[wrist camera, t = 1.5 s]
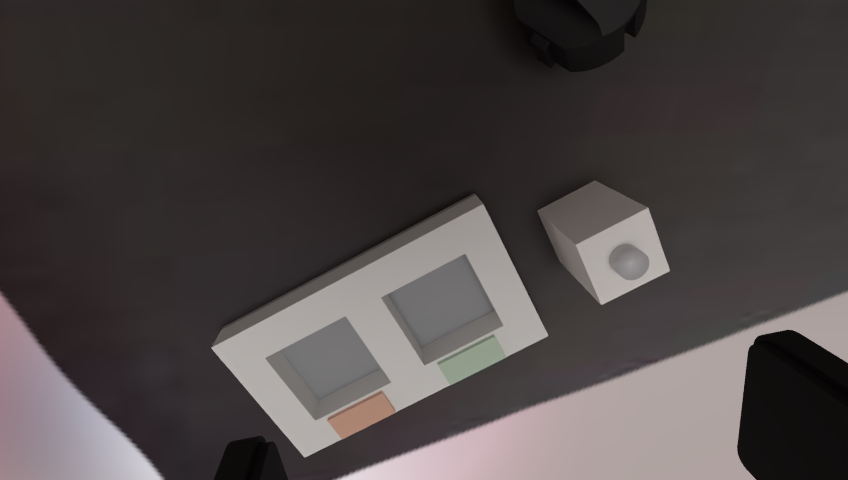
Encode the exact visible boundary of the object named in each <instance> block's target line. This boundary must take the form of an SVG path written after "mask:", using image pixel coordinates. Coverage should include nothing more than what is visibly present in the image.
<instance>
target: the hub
mask: <svg viewBox="0 0 848 480" xmlns="http://www.w3.org/2000/svg"><path fill="white" fill-rule="evenodd" d="M547 336H548V334H547V332H546V330H545V328H544V326H543V324H542V322H541V320H540V318H539V316H538V314H537V312H536V310H535V308H534V306H533V304H532V302H531V300H530V298H529V296H528V294H527V292H526V290H525V288H524V285H523V283H522V281H521V279H520V277H519V275H518V273H517V271H516V269H515V267H514V265H513V263H512V261H511V259H510V257H509V255H508V253H507V251H506V249H505V247H504V245H503V243H502V241H501V239H500V237H499V235H498V233H497V231H496V229H495V227H494V225H493V223H492V221H491V219H490V217H489V215H488V213H487V211H486V208H485V206H484V204H483V203H482V202H481V201H480V199H479V198H478V197H477V196H476V194H475V193H474V194H472V195H470V196H468V197H466V198H464V199H462V200H460V201H458V202H457V203H455V204H453V205H451V206H449V207H447V208H445V209H443V210H442V211H440V212H438V213H436V214H434V215H432V216H430V217H428V218H427V219H425V220H423V221H421V222H419V223H417V224H415V225H413V226H412V227H410V228H408V229H406V230H404V231H402V232H400V233H398V234H396V235H395V236H393V237H391V238H389V239H387V240H385V241H383V242H381V243H380V244H378V245H376V246H374V247H372V248H370V249H368V250H366V251H365V252H363V253H361V254H359V255H357V256H355V257H353V258H351V259H350V260H348V261H346V262H344V263H342V264H340V265H338V266H336V267H334V268H333V269H331V270H329V271H327V272H325V273H323V274H321V275H319V276H318V277H316V278H314V279H312V280H310V281H308V282H306V283H304V284H303V285H301V286H299V287H297V288H295V289H293V290H291V291H289V292H288V293H286V294H284V295H282V296H280V297H278V298H276V299H274V300H272V301H271V302H269V303H267V304H265V305H263V306H261V307H259V308H257V309H256V310H254V311H252V312H250V313H248V314H246V315H244V316H242V317H241V318H239V319H237V320H235V321H233V322H231V323H229V324H227V325H225V326H224V327H223V328H222V330H221V332H220V333H219V335H218V337H217V339H216V340H215V342H214V344H213V346H212V347H211V348H212V349H213V351H214V352H215V353H216V354H217V355H218V357H219V358H220V359H221V360H222V361H223V362H224V364H225V365H226V366H227V367H228V368H229V369H230V371H231V372H232V373H233V374H234V375H235V376H236V378H237V379H238V380H239V381H240V382H241V383H242V385H243V386H244V387H245V388H246V389H247V390H248V392H249V393H250V394H251V395H252V396H253V398H254V399H255V400H256V401H257V402H258V403H259V405H260V406H261V407H262V408H263V409H264V410H265V412H266V413H267V414H268V415H269V416H270V417H271V419H272V420H273V421H274V422H275V423H276V424H277V426H278V427H279V428H280V429H281V430H282V432H283V433H284V434H285V435H286V436H287V437H288V439H289V440H290V441H291V442H292V443H293V444H294V446H295V447H296V448H297V449H298V450H299V451H300V453H301V454H302V455H303V456H304V457H307V456H309V455H311V454H313V453H315V452H317V451H319V450H321V449H323V448H325V447H327V446H329V445H331V444H333V443H335V442H337V441H339V440H341V439H344V438H346V437H348V436H350V435H352V434H354V433H356V432H358V431H360V430H362V429H364V428H366V427H368V426H370V425H372V424H374V423H376V422H378V421H380V420H382V419H384V418H386V417H388V416H390V415H392V414H394V413H396V412H397V411H399V410H401V409H403V408H405V407H407V406H409V405H411V404H413V403H415V402H417V401H419V400H421V399H423V398H425V397H427V396H429V395H431V394H433V393H435V392H437V391H439V390H441V389H443V388H445V387H447V386H449V385H452V384H454V383H456V382H458V381H460V380H462V379H464V378H466V377H468V376H470V375H472V374H474V373H476V372H478V371H480V370H482V369H484V368H486V367H488V366H490V365H492V364H494V363H496V362H498V361H500V360H502V359H504V358H506V357H507V356H509V355H511V354H513V353H515V352H517V351H519V350H521V349H523V348H525V347H527V346H529V345H531V344H533V343H535V342H537V341H539V340H541V339H543V338H545V337H547Z"/></svg>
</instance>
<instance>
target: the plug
mask: <svg viewBox="0 0 848 480" xmlns="http://www.w3.org/2000/svg"><path fill="white" fill-rule="evenodd" d="M537 212H538V214H539V216H540V219H541V221H542V223H543V225H544V228H545V230H546V232H547V234H548V236H549V239H550V241H551V243H552V245H553V248H554V250H555V252H556V254H557V257H558V259H559V261H560V262H561V263H562V264H563V266H564V267H565V268H566V269H567V270H568V271H569V272H570V273H571V274H572V275H573V276H574V277H575V278H576V279H577V280H578V281H579V282H580V283H581V284H582V285H583V286H584V288H585V289H586V290H587V291H588V292H589V293H590V294H591V295H592V296H593V297H594V298H595V299H596V300H597V301H598V302H599V303H600V304H601V305H602V304H605V303H607V302H609V301H611V300H613V299H615V298H617V297H619V296H621V295H623V294H625V293H627V292H629V291H631V290H633V289H635V288H637V287H639V286H641V285H643V284H645V283H647V282H649V281H651V280H653V279H655V278H657V277H659V276H661V275H663V274H665V273H667V272H669V271H670V270H669V267H668V264H667V261H666V258H665V255H664V252H663V249H662V247H661V244H660V241H659V238H658V235H657V232H656V229H655V226H654V223H653V220H652V218H651V215H650V212H649V209H648V207H646V206H644V205H642V204H640V203H638V202H636V201H634V200H632V199H630V198H628V197H626V196H624V195H622V194H620V193H618V192H616V191H615V190H613V189H611V188H609V187H607V186H605V185H603V184H601V183H599V182H597V181H593V182H591V183H589V184H587V185H585V186H583V187H581V188H580V189H578V190H576V191H574V192H572V193H570V194H568V195H566V196H564V197H562V198H560V199H559V200H557V201H555V202H553V203H551V204H549V205H547V206H545V207H543V208H541V209H539V210H538V211H537Z"/></svg>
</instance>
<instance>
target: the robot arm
mask: <svg viewBox="0 0 848 480" xmlns="http://www.w3.org/2000/svg"><path fill="white" fill-rule="evenodd" d="M737 448H738V455H739V458H740V460H741V462H742V463H743V465H744V467H745V468H746V469H747V470H748V471H749V472H750V473H751V474H752V476H753V477H754V478H755V479H756V480H848V363H847V362H845V361H843V360H842V359H840V358H839V357H837V356H835V355H834V354H832V353H830V352H829V351H827V350H826V349H824V348H822V347H821V346H819V345H817V344H816V343H814V342H813V341H811V340H809V339H808V338H806V337H804V336H803V335H801V334H800V333H797V332H795V331H793V330H785V331H780V332H775V333H770V334H765V335H761V336H758V337H757V338H756V339H755V341H754V344H753V345H752V346H751V347H750V348H749V351H748V358H747V367H746V376H745V384H744V393H743V402H742V411H741V420H740V428H739V438H738V446H737ZM214 480H288V478H287V475H286V472H285V470H284V467H283V464H282V461H281V458H280V455H279V452H278V450H277V447H276V445H275V443H274V442H268V443H266V441H265V439H264V438H263V437H262V436H257V437H252V438H247V439H242V440H237V441H232V442H230V443H229V444H228V445H227V447H226V449H225V452H224V455H223V457H222V460H221V462H220V465H219V468H218V470H217V473H216V475H215V478H214Z"/></svg>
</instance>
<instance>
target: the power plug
mask: <svg viewBox="0 0 848 480" xmlns="http://www.w3.org/2000/svg"><path fill="white" fill-rule="evenodd" d="M646 4H647V0H514V8H515V13H516V16H517V19H518V21H519V24H520V26H521V28H522V31H523V33H524V35H525V38H526V40H527V42H528V44H530V45H531V46H532V47H533V49H534V52H535V54H536V56H537V59H538V60H540V61H541V62H543V63H544V64H546V65H547V66H549V67H550V68H551V67H552V66H553V65H554V64H555V62H556V63H558V64H559V65H561V66H562V67H564V68H565V69H567V70H568V71H570V72H579V71H586V70H591V69H594V68H597V67H600V66H602V65H604V64H606V63H608V62H610V61H611V60H613V59H614V58H616V57H617V56H619V55H620V54H621V53H622V52H623V51H624V34H625V33H628V34H630V35H631V36H633V37H636V36H637V34H638V32H639V31H640V28H641V26H642V24H643V21H644V18H645V13H646Z"/></svg>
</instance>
